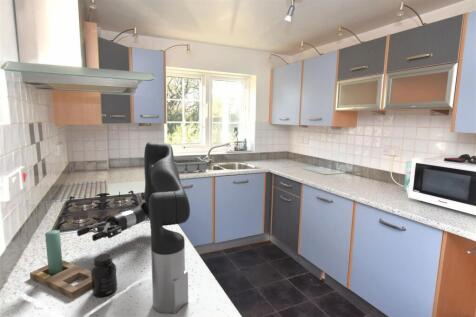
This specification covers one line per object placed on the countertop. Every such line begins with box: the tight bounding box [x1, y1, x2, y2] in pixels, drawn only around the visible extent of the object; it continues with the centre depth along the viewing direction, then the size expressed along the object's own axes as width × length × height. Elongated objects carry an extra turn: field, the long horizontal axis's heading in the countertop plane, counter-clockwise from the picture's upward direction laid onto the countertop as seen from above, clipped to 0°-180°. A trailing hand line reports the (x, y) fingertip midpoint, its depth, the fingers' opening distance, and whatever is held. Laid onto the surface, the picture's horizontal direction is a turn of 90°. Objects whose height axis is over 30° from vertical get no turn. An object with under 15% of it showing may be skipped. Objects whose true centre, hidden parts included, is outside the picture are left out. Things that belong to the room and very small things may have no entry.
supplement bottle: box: [91, 253, 118, 299], centre depth 86 cm, size 7×7×12 cm
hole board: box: [29, 259, 92, 300], centre depth 92 cm, size 22×10×3 cm, turn 63°
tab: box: [78, 258, 94, 271], centre depth 101 cm, size 9×9×1 cm
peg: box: [44, 229, 63, 276], centre depth 93 cm, size 4×4×16 cm
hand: (85, 235), depth 103 cm, fingers open, 8 cm apart
